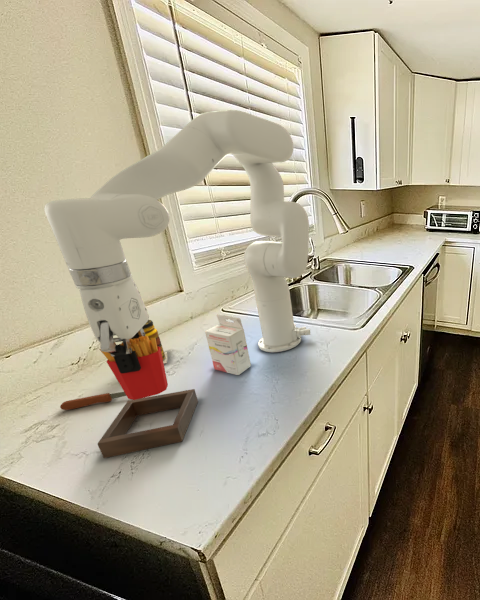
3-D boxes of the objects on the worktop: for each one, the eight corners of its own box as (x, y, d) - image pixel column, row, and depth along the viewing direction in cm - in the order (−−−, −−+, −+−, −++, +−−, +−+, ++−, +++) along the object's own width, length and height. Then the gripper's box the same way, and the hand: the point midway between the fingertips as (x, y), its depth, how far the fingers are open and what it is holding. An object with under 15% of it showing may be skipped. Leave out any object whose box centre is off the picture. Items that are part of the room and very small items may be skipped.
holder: (198, 401, 75) (194, 388, 74) (182, 441, 64) (177, 427, 63) (132, 413, 72) (127, 400, 70) (103, 458, 60) (97, 443, 59)
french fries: (173, 380, 69) (156, 330, 64) (170, 391, 65) (152, 339, 61) (124, 392, 65) (102, 340, 61) (118, 404, 62) (94, 349, 57)
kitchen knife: (61, 412, 72) (58, 404, 72) (64, 408, 73) (61, 401, 73) (145, 395, 77) (143, 388, 77) (147, 392, 79) (145, 385, 78)
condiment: (167, 363, 91) (155, 324, 86) (128, 373, 86) (114, 332, 82) (167, 352, 96) (156, 315, 92) (131, 360, 92) (117, 322, 88)
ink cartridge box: (213, 370, 87) (200, 320, 82) (227, 360, 92) (216, 313, 86) (238, 376, 85) (227, 325, 79) (252, 366, 89) (242, 317, 84)
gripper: (104, 287, 49) (142, 385, 56) (146, 259, 64) (172, 340, 71) (42, 293, 47) (89, 395, 54) (100, 263, 62) (132, 346, 69)
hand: (136, 363), depth 63 cm, fingers closed on french fries, 4 cm apart
